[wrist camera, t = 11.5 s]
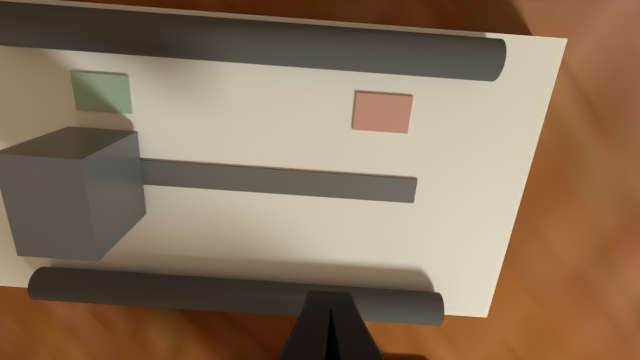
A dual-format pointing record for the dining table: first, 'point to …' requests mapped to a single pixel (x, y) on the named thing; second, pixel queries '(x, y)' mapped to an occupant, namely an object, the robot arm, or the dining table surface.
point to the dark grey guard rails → (250, 48)
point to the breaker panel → (298, 162)
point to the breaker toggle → (72, 192)
